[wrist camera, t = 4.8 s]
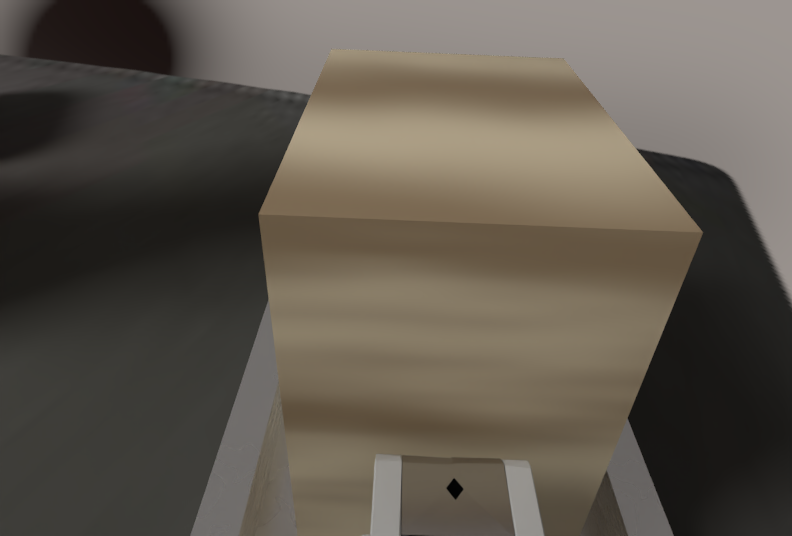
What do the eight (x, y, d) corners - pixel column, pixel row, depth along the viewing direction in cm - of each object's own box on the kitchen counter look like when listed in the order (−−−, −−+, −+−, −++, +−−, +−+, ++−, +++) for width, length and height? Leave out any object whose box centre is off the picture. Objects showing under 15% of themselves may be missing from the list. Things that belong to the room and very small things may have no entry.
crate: (561, 580, 15) (703, 232, 9) (301, 570, 15) (258, 214, 9) (506, 322, 24) (559, 53, 18) (341, 316, 24) (333, 43, 18)
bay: (675, 689, 14) (775, 568, 11) (185, 670, 14) (128, 542, 11) (517, 199, 36) (534, 105, 32) (320, 191, 36) (315, 96, 32)
